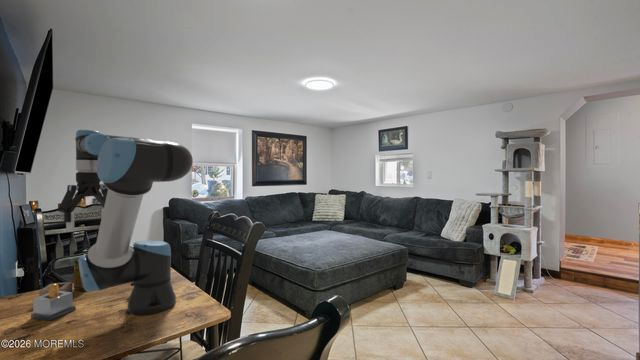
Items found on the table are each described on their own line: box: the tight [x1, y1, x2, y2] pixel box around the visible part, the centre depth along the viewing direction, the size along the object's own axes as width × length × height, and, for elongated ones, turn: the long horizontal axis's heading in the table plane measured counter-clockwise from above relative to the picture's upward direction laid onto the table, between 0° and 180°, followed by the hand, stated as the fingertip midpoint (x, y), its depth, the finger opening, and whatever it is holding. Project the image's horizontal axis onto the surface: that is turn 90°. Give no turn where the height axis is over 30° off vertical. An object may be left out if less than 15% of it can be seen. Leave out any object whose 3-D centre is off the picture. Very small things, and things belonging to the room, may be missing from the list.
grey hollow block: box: [32, 291, 74, 316], centre depth 100 cm, size 7×7×5 cm
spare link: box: [38, 281, 73, 297], centre depth 111 cm, size 7×7×5 cm
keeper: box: [30, 283, 77, 322], centre depth 100 cm, size 8×8×10 cm
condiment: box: [72, 258, 86, 293], centre depth 121 cm, size 7×8×12 cm
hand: (88, 227), depth 112 cm, fingers open, 13 cm apart
